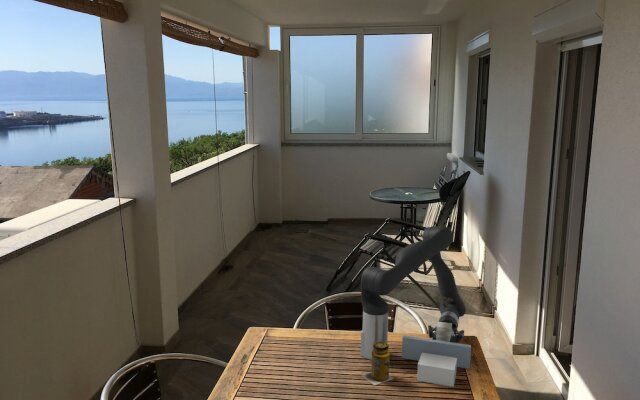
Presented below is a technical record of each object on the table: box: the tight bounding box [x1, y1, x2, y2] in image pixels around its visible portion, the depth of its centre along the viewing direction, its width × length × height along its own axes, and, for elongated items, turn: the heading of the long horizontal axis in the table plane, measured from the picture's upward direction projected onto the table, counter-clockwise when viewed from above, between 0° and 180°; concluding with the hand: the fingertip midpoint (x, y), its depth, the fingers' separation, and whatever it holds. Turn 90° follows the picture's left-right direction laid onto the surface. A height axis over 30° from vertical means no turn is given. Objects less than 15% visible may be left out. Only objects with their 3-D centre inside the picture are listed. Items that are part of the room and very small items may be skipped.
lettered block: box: [436, 322, 452, 342], centre depth 199 cm, size 5×5×12 cm
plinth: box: [416, 353, 458, 388], centre depth 184 cm, size 12×9×6 cm
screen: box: [401, 334, 472, 369], centre depth 195 cm, size 24×2×8 cm, turn 71°
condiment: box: [361, 342, 395, 386], centre depth 183 cm, size 7×8×12 cm
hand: (442, 341), depth 197 cm, fingers closed on lettered block, 5 cm apart
